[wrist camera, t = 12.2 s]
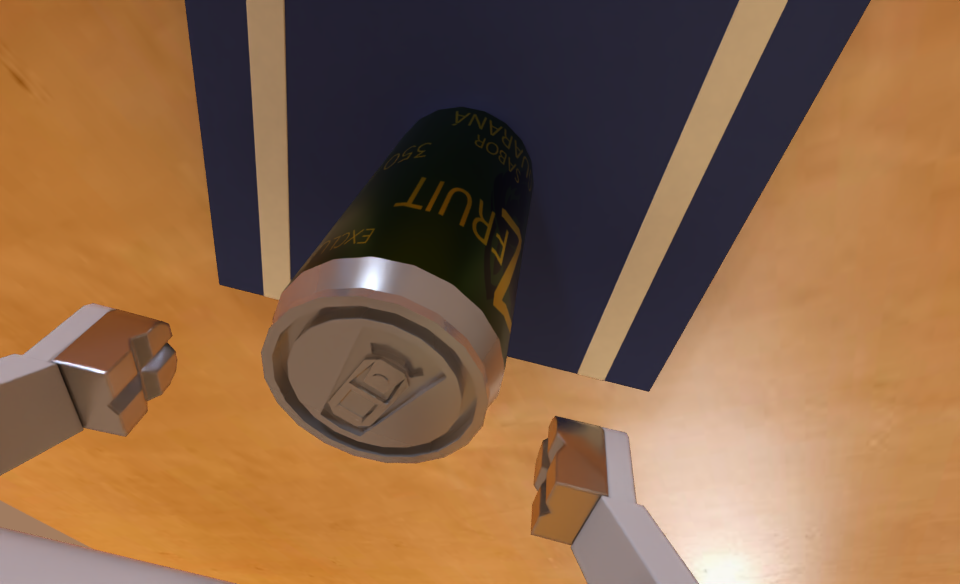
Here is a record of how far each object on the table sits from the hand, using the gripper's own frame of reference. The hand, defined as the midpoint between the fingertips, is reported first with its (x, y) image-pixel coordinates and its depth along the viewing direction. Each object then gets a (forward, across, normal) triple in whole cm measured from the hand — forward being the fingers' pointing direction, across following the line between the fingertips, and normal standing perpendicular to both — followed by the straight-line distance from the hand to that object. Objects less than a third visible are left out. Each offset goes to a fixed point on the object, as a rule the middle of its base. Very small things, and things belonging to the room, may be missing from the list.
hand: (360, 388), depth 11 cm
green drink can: (+12, 0, 0) cm, 12 cm away
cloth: (+12, 0, 0) cm, 13 cm away
